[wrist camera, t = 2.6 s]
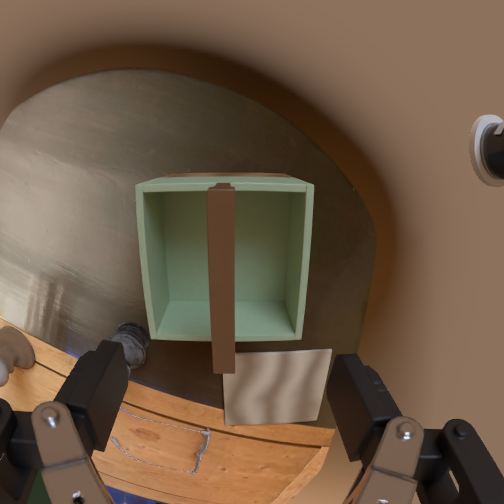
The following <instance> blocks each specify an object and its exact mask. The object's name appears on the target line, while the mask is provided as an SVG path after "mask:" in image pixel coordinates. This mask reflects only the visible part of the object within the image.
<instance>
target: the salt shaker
mask: <svg viewBox="0 0 504 504" xmlns="http://www.w3.org/2000/svg"><path fill="white" fill-rule="evenodd" d="M107 340H108V341H115V342H121V343H122V344H123V346H124V352H125V358H126V364H127V370H128V377H129V376H130V368H137V367H140V366H141V365H142V364H143V363H144V362H145V359H146V352H145V350H146V349H147V347H148V346H149V336H148V334H147V332H146V331H145V330H144V329H143V328H142V327H141V326H139V325H138V324H135V323H132V322H125V323H122V324H120V325H119V326H118V327H117V329H116V332H115V334H113V335H111V336H110V337H109V338H108V339H107Z"/></svg>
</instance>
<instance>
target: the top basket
mask: <svg viewBox="0 0 504 504" xmlns="http://www.w3.org/2000/svg"><path fill="white" fill-rule="evenodd" d="M135 193H136V213H137V229H138V241H139V253H140V263H141V272H142V281H143V289H144V297H145V305H146V312H147V318H148V325H149V331H150V337H151V339H158V340H179V341H211V342H212V359H213V373H214V374H235V341H281V340H301V337H302V329H303V320H304V311H305V301H306V291H307V280H308V269H309V257H310V245H311V231H312V216H313V199H314V185H313V184H310V183H307V182H305V181H302V180H299V179H297V178H286V177H242V176H209V177H165V178H156V179H153V180H150V181H146V182H143V183H140V184H137V185H135Z"/></svg>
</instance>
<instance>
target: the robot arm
mask: <svg viewBox="0 0 504 504" xmlns="http://www.w3.org/2000/svg"><path fill="white" fill-rule="evenodd" d="M480 155H481V160H482V163H483V166H484V168H485V170H486V172H487V173H488V174H489V175H490V176H491V177H492V178H494V179H497V180H504V122H500V123H489V124H488V125H487V126H486V127H485V128H484V130H483V132H482V135H481V139H480ZM127 387H128V370H127V364H126V358H125V352H124V346H123V344H122V343H121V342H115V341H108V340H102V341H101V343H100V344H99V346H98V348H97V349H96V351H88V352H87V353H85V354H84V355H83V356H81V357H80V358H79V360H78V361H77V363H76V364H75V366H74V368H73V369H72V371H71V372H70V375H69V376H68V377H67V379H66V380H65V382H64V384H63V385H62V387H61V389H60V390H59V392H58V394H57V395H56V397H55V399H54V400H53V401H48V402H44V403H42V404H40V405H38V406H37V407H36V408H35V409H34V411H33V412H23V411H13V410H12V408H11V406H10V405H9V403H8V402H7V401H5V400H4V399H1V398H0V459H1V460H0V504H27V502H28V499H29V496H30V493H31V490H32V487H33V484H34V481H35V478H36V475H37V473H38V470H39V469H41V474H42V478H43V481H44V484H45V487H46V489H47V492H48V495H49V498H50V500H51V503H52V504H115V502H114V501H113V499H112V497H111V495H110V494H109V492H108V490H107V488H106V486H105V484H104V483H103V481H102V479H101V477H100V475H99V473H98V471H97V469H96V467H95V465H94V462H93V460H92V458H91V456H92V453H93V451H94V450H98V451H102V452H104V451H105V448H106V445H107V442H108V439H109V436H110V433H111V431H112V428H113V425H114V422H115V419H116V417H117V414H118V411H119V409H120V406H121V403H122V400H123V398H124V395H125V393H126V390H127ZM327 399H328V402H329V405H330V407H331V410H332V413H333V416H334V418H335V421H336V424H337V427H338V430H339V432H340V435H341V438H342V441H343V443H344V446H345V449H346V452H347V454H348V458H349V460H350V462H353V461H358V460H361V462H362V464H363V465H362V467H361V469H360V470H359V473H358V475H357V477H356V479H355V481H354V482H353V485H352V486H351V488H350V490H349V492H348V494H347V496H346V498H345V499H344V501H343V503H342V504H411V503H412V500H413V497H414V493H415V490H416V492H417V495H418V497H419V500H420V503H421V504H504V477H503V475H502V474H501V472H500V470H499V468H498V467H497V465H496V463H495V462H494V460H493V458H492V457H491V455H490V453H489V452H488V451H487V448H486V447H485V445H484V444H483V442H482V440H481V439H480V437H479V436H478V434H477V432H476V431H475V429H474V428H473V427H472V426H471V424H469V423H468V422H466V421H464V420H461V419H452V420H450V421H448V422H447V423H446V424H445V426H444V427H443V429H423V428H422V426H421V425H420V424H419V423H418V422H417V421H416V420H414V419H412V418H410V417H404V416H403V415H402V414H401V412H400V410H399V408H398V407H397V405H396V403H395V402H394V400H393V398H392V397H391V395H390V393H389V391H387V388H386V386H385V385H384V384H383V381H382V380H381V378H380V376H379V375H378V373H377V372H376V371H374V370H373V369H372V368H371V367H369V366H364V365H363V364H362V362H361V360H360V358H359V357H358V355H357V354H338V355H337V356H336V357H335V360H334V363H333V367H332V370H331V374H330V377H329V380H328V383H327ZM2 455H3V456H2ZM1 457H2V458H1ZM450 470H451V471H452V473H453V475H454V477H455V479H456V481H457V483H458V485H459V493H458V491H457V489H456V487H455V484H454V482H453V480H452V478H451V476H450V474H449V471H450ZM156 504H161V503H156Z"/></svg>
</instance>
